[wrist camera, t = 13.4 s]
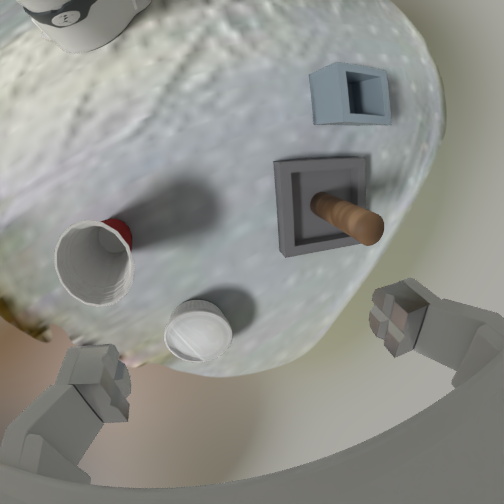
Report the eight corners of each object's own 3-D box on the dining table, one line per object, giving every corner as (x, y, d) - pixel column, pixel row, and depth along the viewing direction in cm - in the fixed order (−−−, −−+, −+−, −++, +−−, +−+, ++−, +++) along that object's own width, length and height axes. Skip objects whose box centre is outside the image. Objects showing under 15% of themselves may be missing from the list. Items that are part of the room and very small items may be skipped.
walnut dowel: (309, 193, 42) (358, 215, 30) (331, 190, 43) (385, 211, 30) (310, 217, 44) (357, 248, 31) (332, 214, 45) (383, 242, 32)
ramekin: (157, 333, 47) (155, 352, 42) (179, 284, 45) (178, 301, 40) (212, 350, 51) (215, 369, 46) (238, 306, 49) (244, 323, 44)
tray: (273, 161, 40) (279, 162, 38) (355, 156, 43) (365, 158, 40) (279, 250, 46) (285, 257, 43) (354, 237, 48) (363, 243, 46)
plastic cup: (144, 197, 38) (127, 218, 27) (151, 265, 42) (141, 305, 31) (79, 203, 36) (44, 226, 25) (89, 268, 40) (64, 307, 29)
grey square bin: (308, 74, 36) (336, 61, 28) (353, 79, 37) (386, 70, 29) (313, 124, 39) (342, 121, 31) (357, 125, 41) (391, 125, 33)
